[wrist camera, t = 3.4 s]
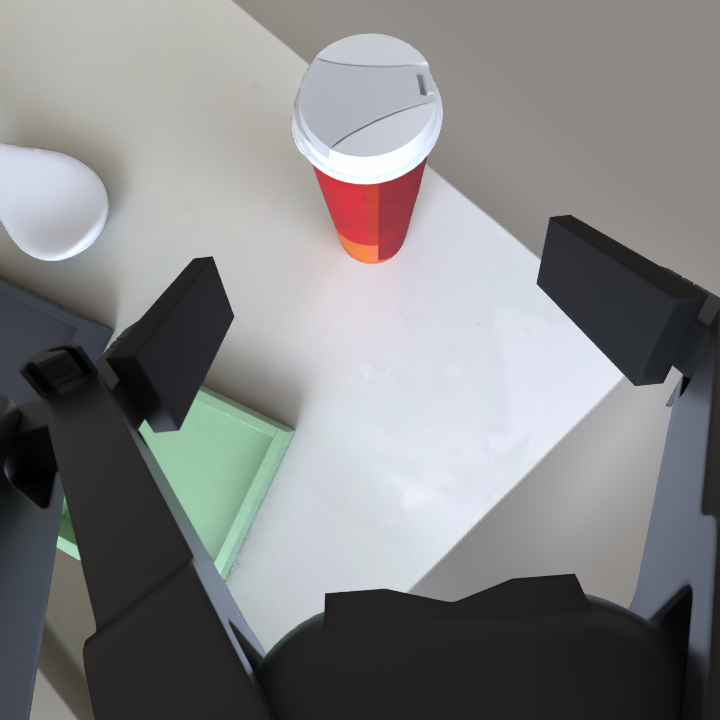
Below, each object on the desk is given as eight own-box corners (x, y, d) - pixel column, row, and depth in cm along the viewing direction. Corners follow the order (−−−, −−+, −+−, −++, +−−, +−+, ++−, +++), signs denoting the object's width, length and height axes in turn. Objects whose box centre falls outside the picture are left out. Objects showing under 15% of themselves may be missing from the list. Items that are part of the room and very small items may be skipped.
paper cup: (409, 184, 32) (431, 10, 18) (425, 267, 31) (462, 150, 17) (320, 200, 32) (275, 40, 18) (333, 283, 31) (295, 180, 17)
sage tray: (295, 430, 29) (287, 432, 27) (213, 606, 28) (196, 626, 25) (142, 356, 31) (121, 352, 28) (56, 520, 30) (25, 530, 27)
